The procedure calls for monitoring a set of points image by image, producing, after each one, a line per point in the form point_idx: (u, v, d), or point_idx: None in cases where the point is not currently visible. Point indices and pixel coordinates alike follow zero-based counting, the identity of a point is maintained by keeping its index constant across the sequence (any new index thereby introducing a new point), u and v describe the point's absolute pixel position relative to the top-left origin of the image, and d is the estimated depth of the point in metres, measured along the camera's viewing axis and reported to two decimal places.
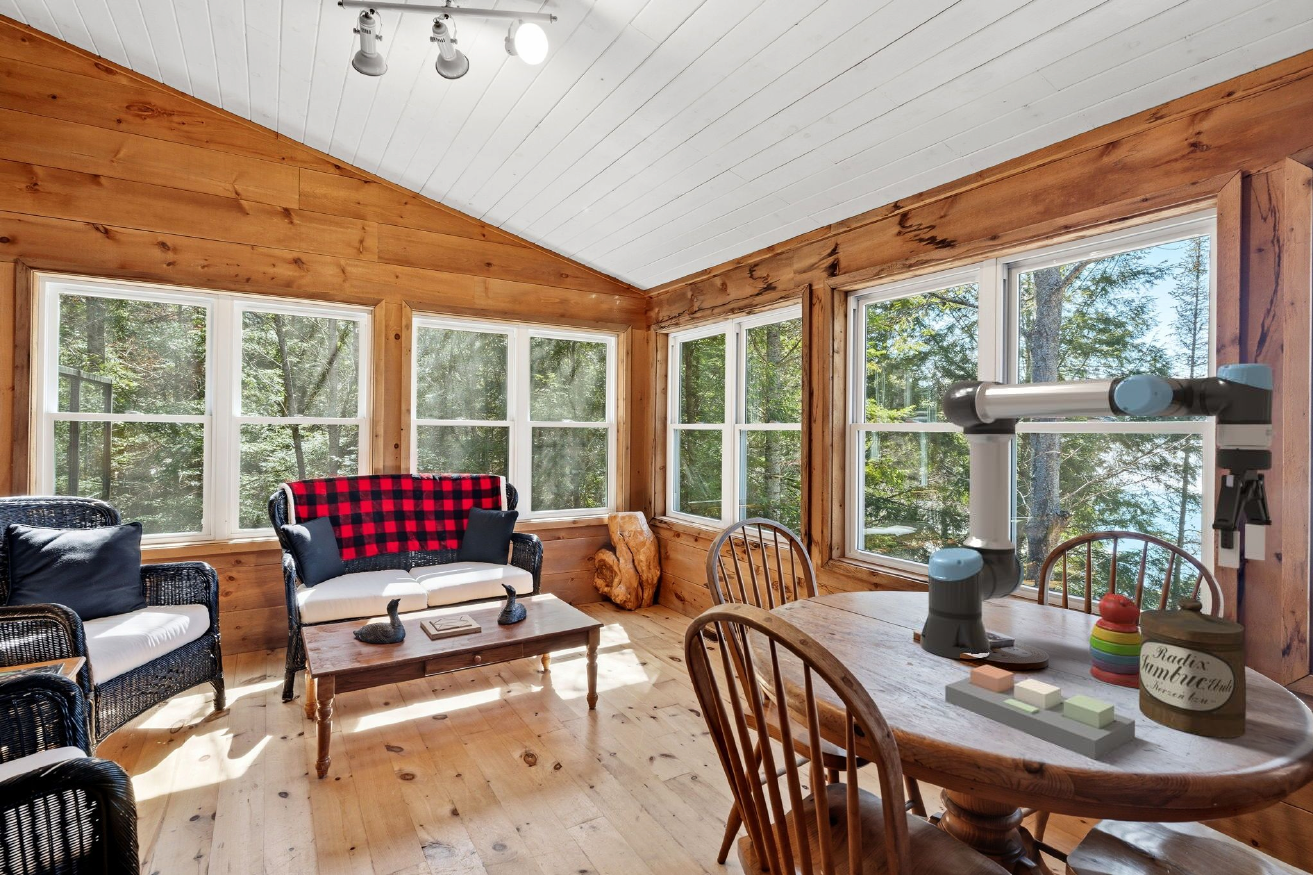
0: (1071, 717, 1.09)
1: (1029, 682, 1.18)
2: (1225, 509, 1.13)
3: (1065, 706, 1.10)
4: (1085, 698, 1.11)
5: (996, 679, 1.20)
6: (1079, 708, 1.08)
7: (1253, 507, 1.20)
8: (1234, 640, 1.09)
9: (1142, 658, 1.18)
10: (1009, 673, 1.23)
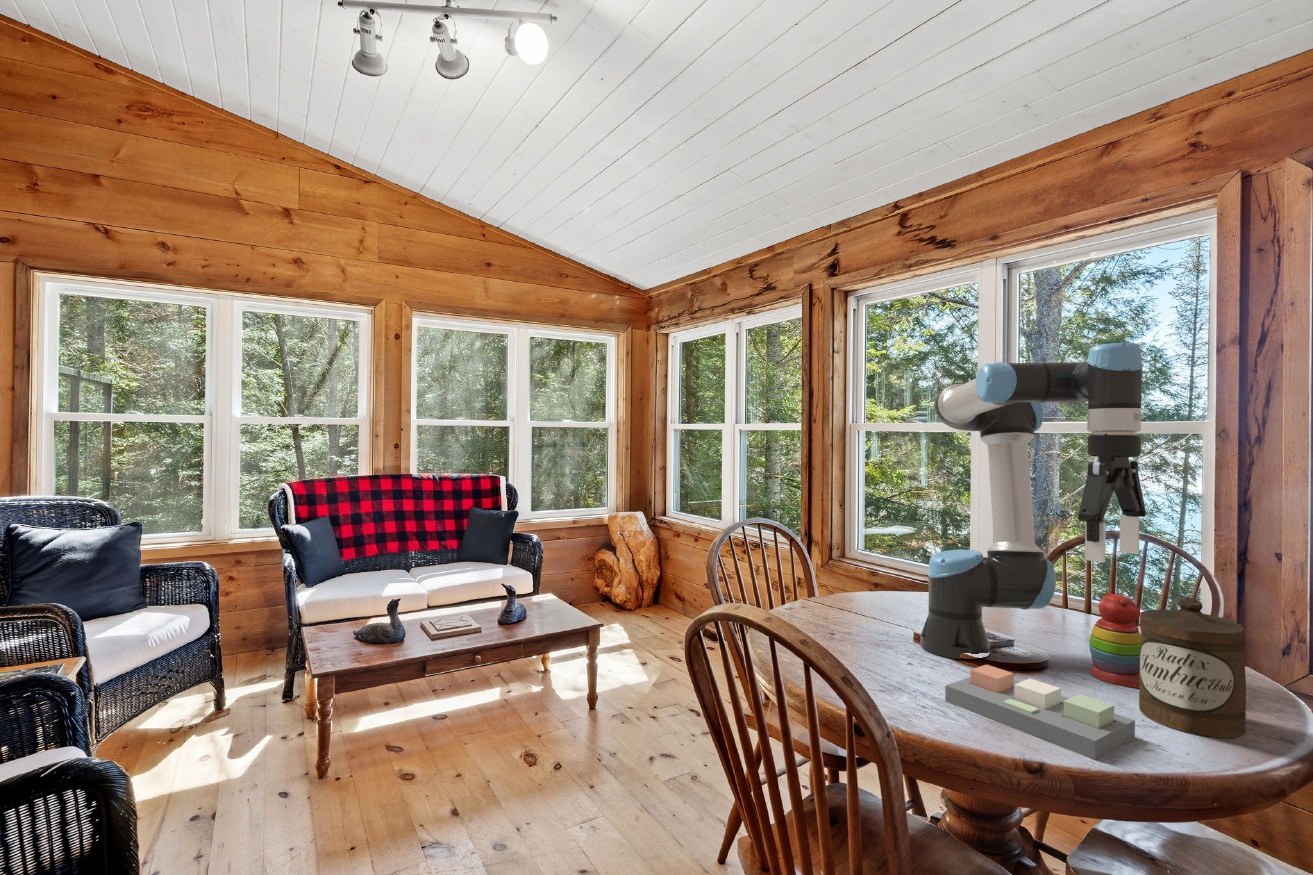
0: (1071, 717, 1.09)
1: (1029, 682, 1.18)
2: (1090, 499, 1.05)
3: (1065, 706, 1.10)
4: (1085, 698, 1.11)
5: (996, 679, 1.20)
6: (1079, 708, 1.08)
7: (1126, 497, 1.13)
8: (1234, 640, 1.09)
9: (1142, 658, 1.18)
10: (1009, 673, 1.23)
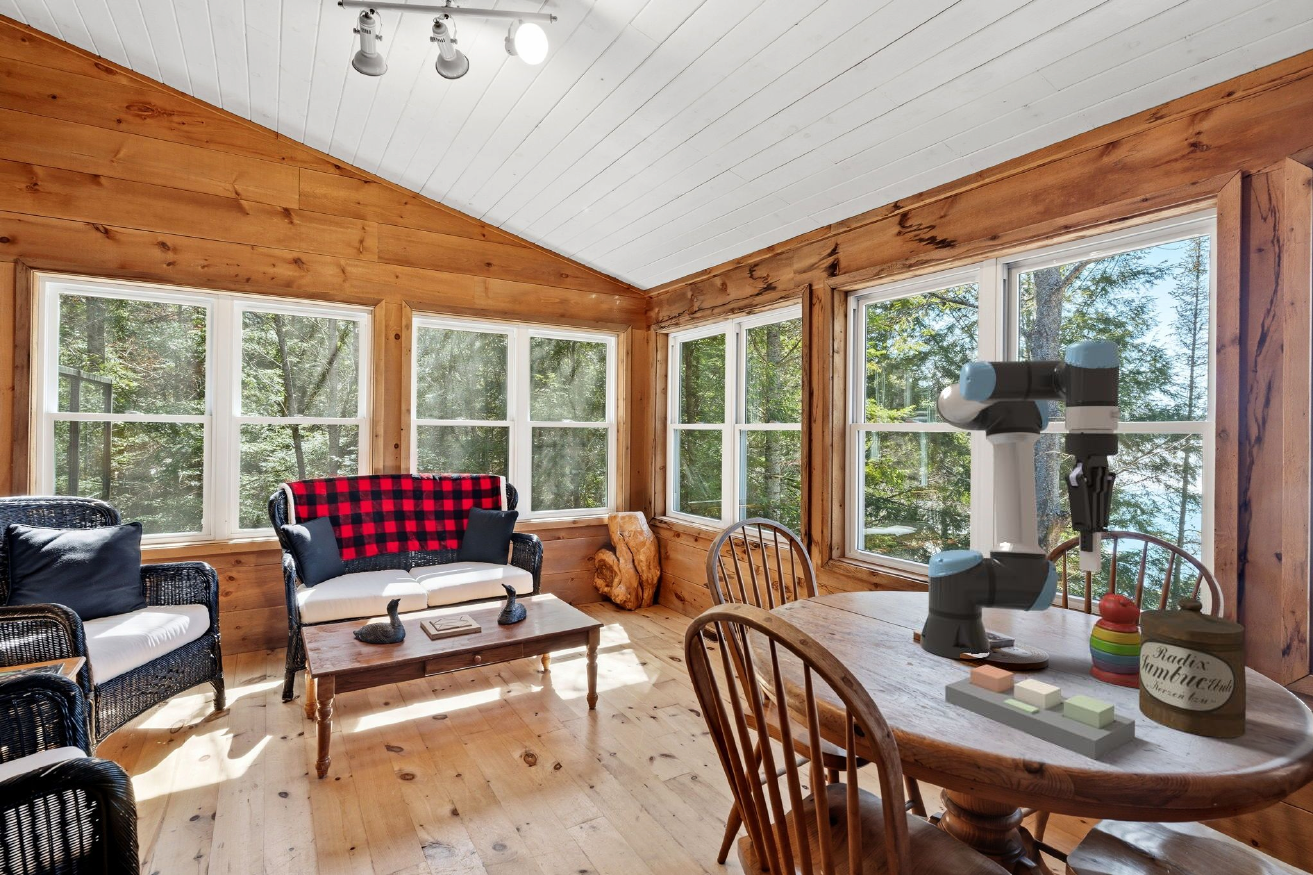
0: (1071, 717, 1.09)
1: (1029, 682, 1.18)
2: (1078, 512, 1.07)
3: (1065, 706, 1.10)
4: (1085, 698, 1.11)
5: (996, 679, 1.20)
6: (1079, 708, 1.08)
7: None
8: (1234, 640, 1.09)
9: (1142, 658, 1.18)
10: (1009, 673, 1.23)
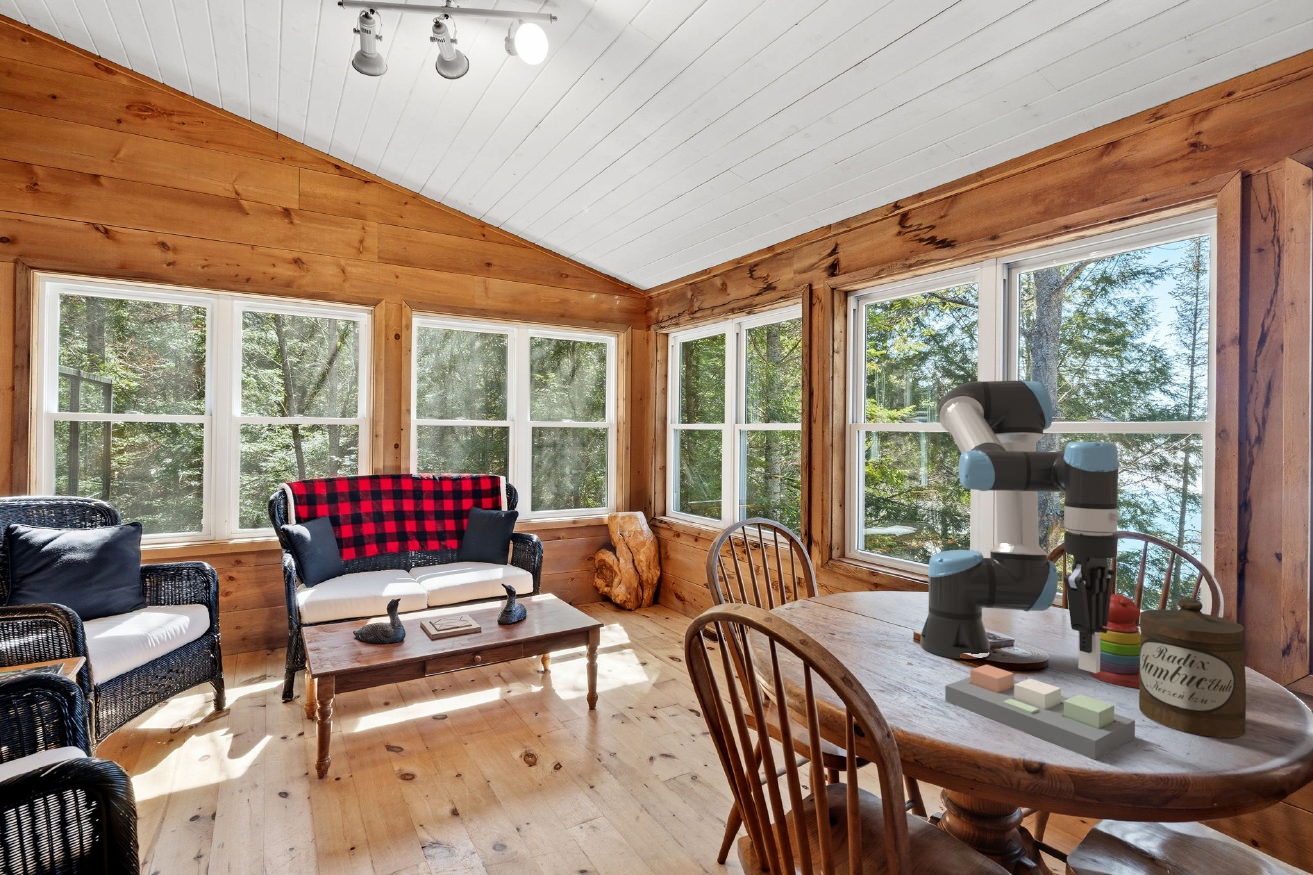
0: (1071, 717, 1.09)
1: (1029, 682, 1.18)
2: (1077, 613, 1.07)
3: (1065, 706, 1.10)
4: (1085, 698, 1.11)
5: (996, 679, 1.20)
6: (1079, 708, 1.08)
7: None
8: (1234, 640, 1.09)
9: (1142, 658, 1.18)
10: (1009, 673, 1.23)
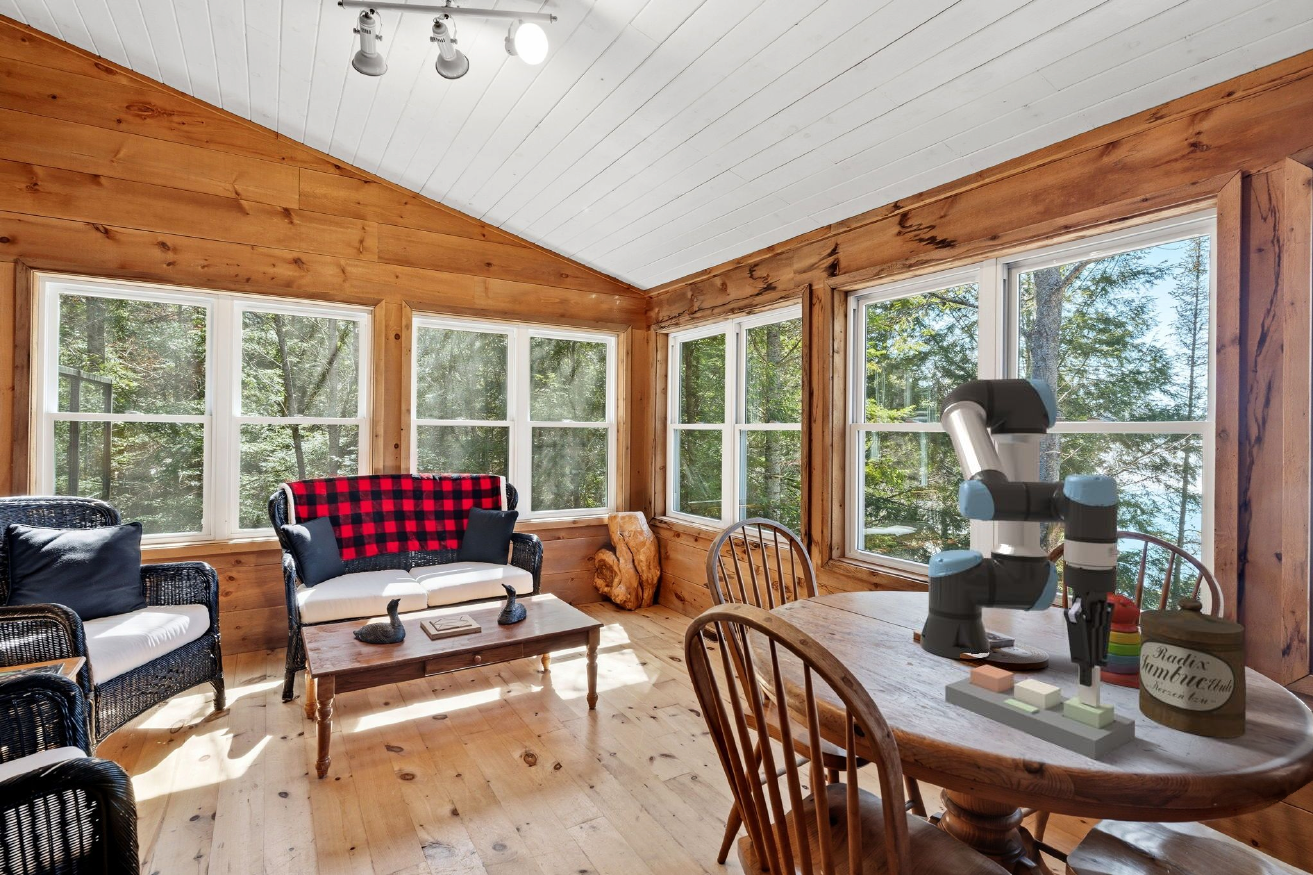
0: (1071, 718, 1.09)
1: (1029, 682, 1.18)
2: (1077, 647, 1.07)
3: (1065, 707, 1.10)
4: None
5: (996, 679, 1.20)
6: (1079, 709, 1.08)
7: None
8: (1234, 640, 1.09)
9: (1142, 658, 1.18)
10: (1009, 673, 1.23)
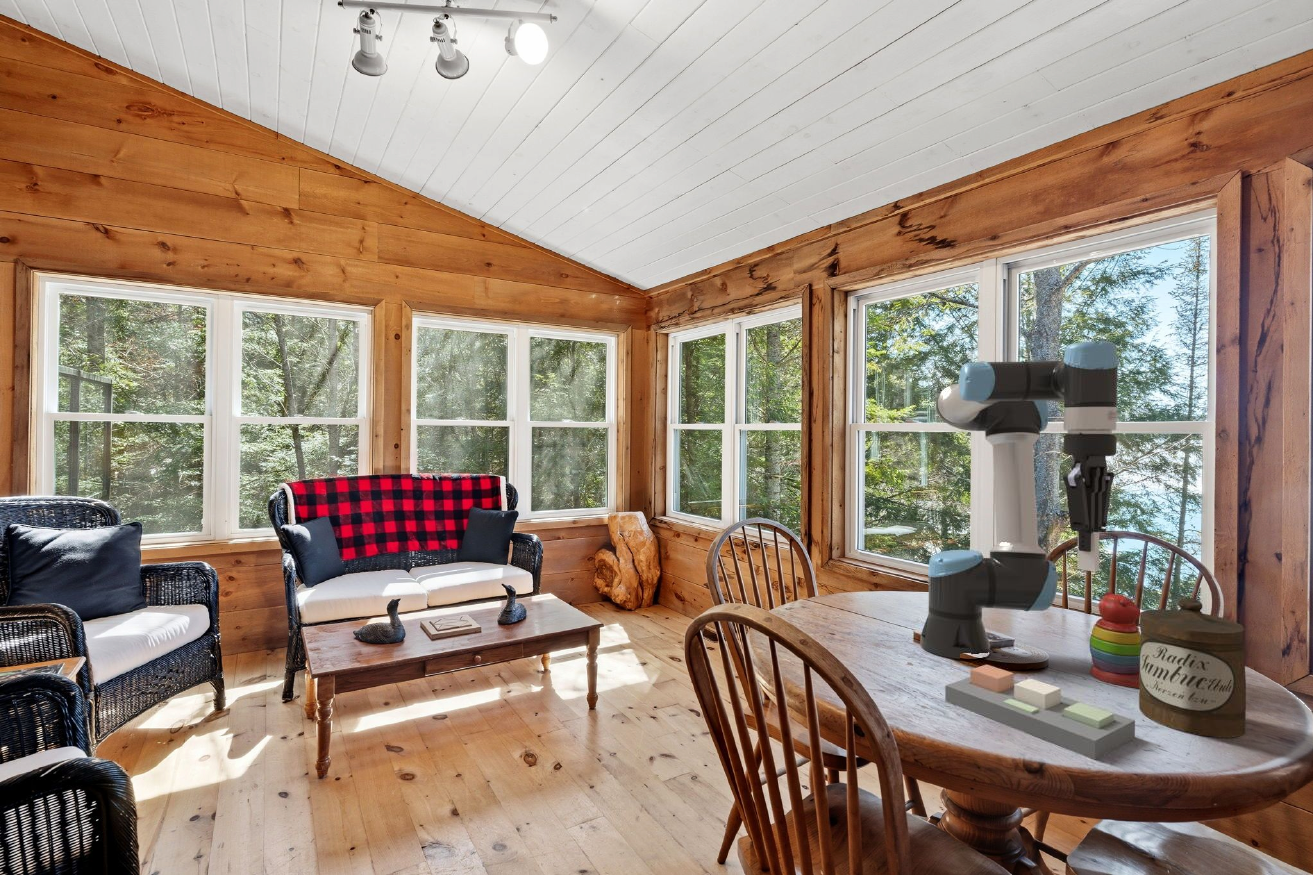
0: None
1: (1029, 682, 1.18)
2: (1076, 512, 1.07)
3: (1065, 714, 1.10)
4: (1085, 706, 1.11)
5: (996, 679, 1.20)
6: (1079, 716, 1.08)
7: None
8: (1234, 640, 1.09)
9: (1142, 658, 1.18)
10: (1009, 673, 1.23)
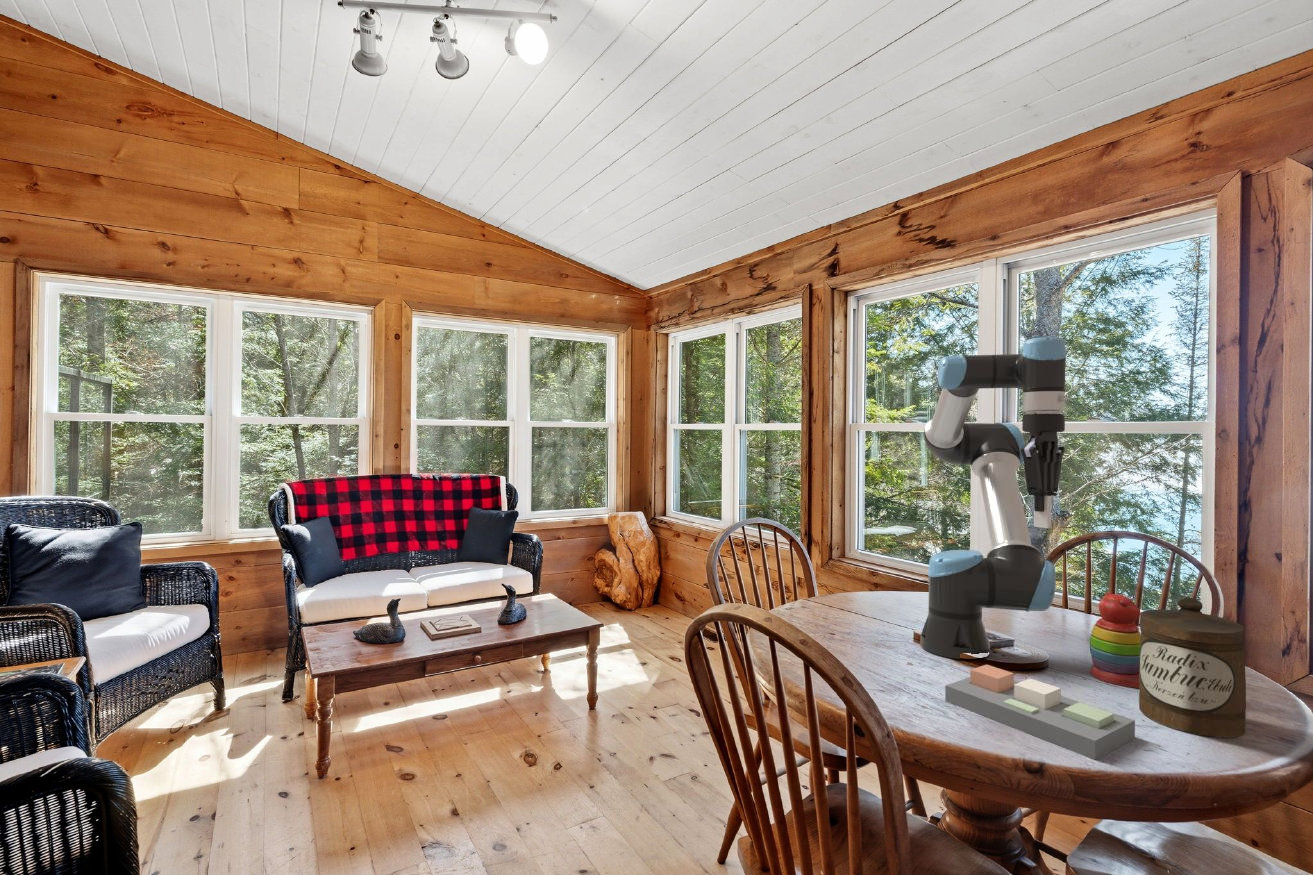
0: None
1: (1029, 682, 1.18)
2: (1031, 478, 1.30)
3: (1065, 714, 1.10)
4: (1085, 706, 1.11)
5: (996, 679, 1.20)
6: (1079, 716, 1.08)
7: None
8: (1234, 640, 1.09)
9: (1142, 658, 1.18)
10: (1009, 673, 1.23)
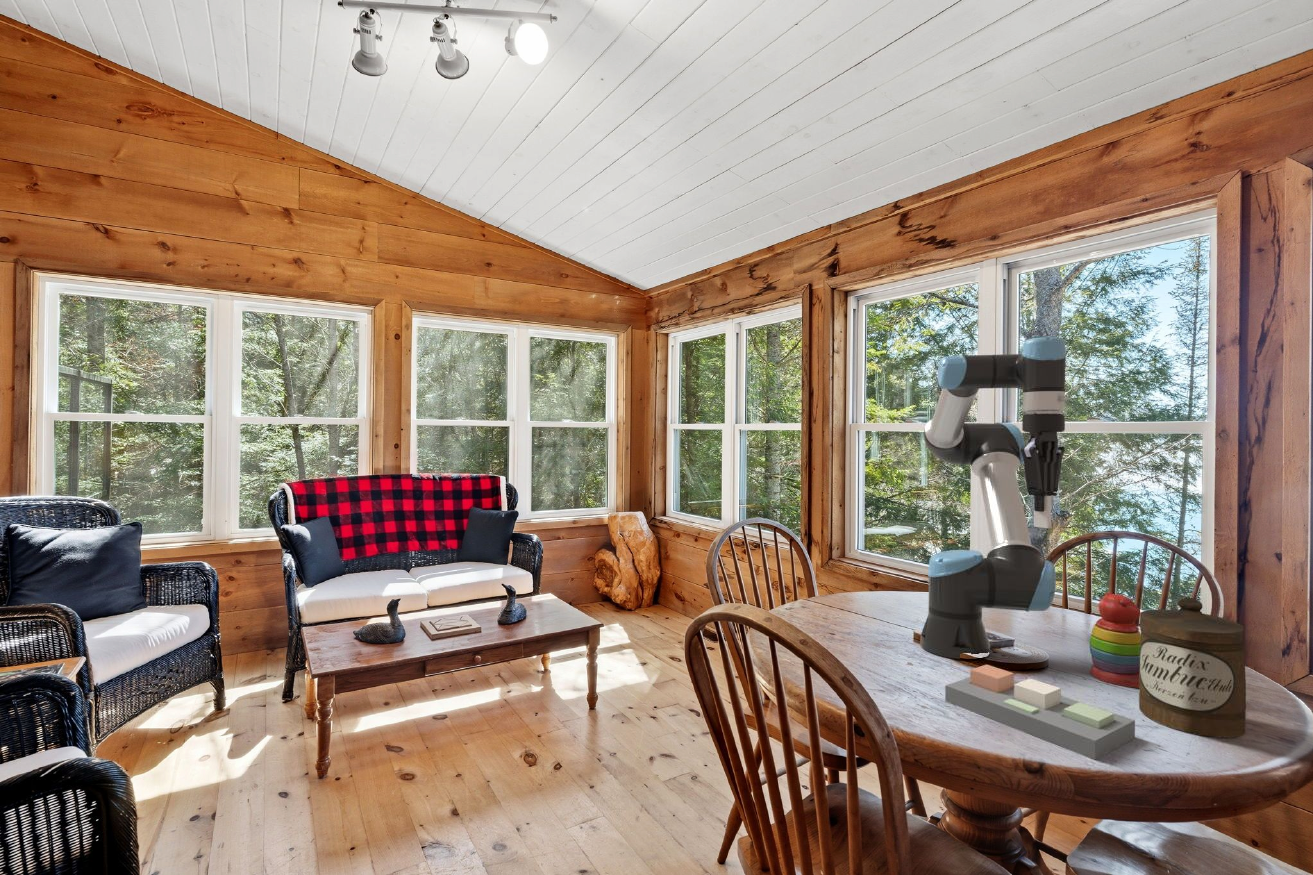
0: None
1: (1029, 682, 1.18)
2: (1031, 478, 1.30)
3: (1065, 714, 1.10)
4: (1085, 706, 1.11)
5: (996, 679, 1.20)
6: (1079, 716, 1.08)
7: None
8: (1234, 640, 1.09)
9: (1142, 658, 1.18)
10: (1009, 673, 1.23)
